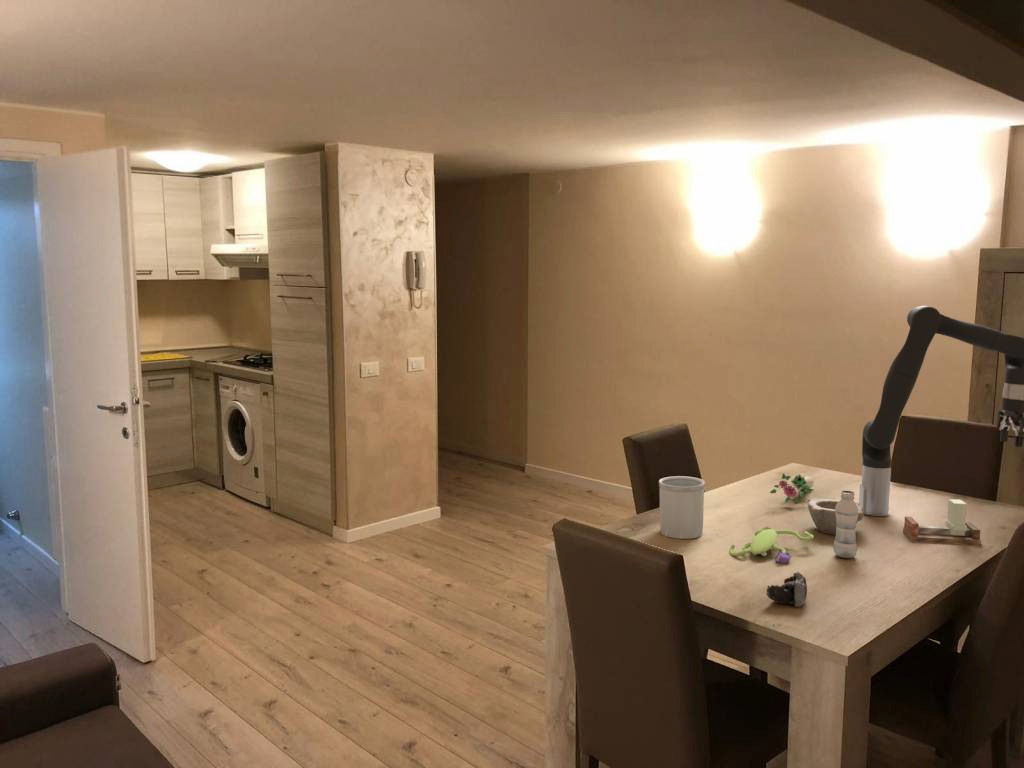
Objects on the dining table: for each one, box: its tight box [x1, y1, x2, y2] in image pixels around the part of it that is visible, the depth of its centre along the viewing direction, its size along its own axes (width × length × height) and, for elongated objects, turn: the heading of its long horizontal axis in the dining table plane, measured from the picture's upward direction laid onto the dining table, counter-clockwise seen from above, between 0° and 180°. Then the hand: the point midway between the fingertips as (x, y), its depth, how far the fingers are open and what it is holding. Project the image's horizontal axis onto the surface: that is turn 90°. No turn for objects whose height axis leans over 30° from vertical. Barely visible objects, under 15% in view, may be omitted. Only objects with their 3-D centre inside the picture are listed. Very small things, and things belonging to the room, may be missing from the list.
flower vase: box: [769, 472, 815, 503], centre depth 306 cm, size 12×12×35 cm
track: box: [902, 516, 982, 546], centre depth 258 cm, size 20×10×6 cm, turn 79°
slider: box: [945, 498, 967, 536], centre depth 257 cm, size 4×7×10 cm, turn 169°
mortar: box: [807, 497, 865, 536], centre depth 266 cm, size 17×17×9 cm
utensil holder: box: [658, 475, 706, 540], centre depth 264 cm, size 15×15×18 cm
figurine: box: [728, 526, 814, 564], centre depth 247 cm, size 18×27×6 cm
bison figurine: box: [766, 571, 808, 608], centre depth 209 cm, size 12×7×10 cm
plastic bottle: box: [833, 490, 859, 559], centre depth 240 cm, size 6×7×20 cm
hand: (1010, 444), depth 273 cm, fingers open, 8 cm apart
